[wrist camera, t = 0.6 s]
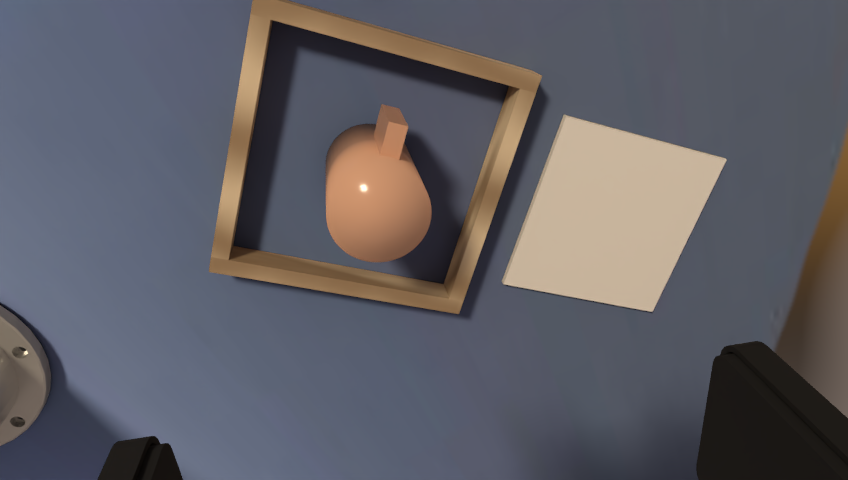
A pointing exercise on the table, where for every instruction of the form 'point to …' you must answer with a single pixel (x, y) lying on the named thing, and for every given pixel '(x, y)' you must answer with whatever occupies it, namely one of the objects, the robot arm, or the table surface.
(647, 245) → the off-white pad
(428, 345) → the table surface
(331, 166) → the terracotta jug
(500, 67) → the oak frame
